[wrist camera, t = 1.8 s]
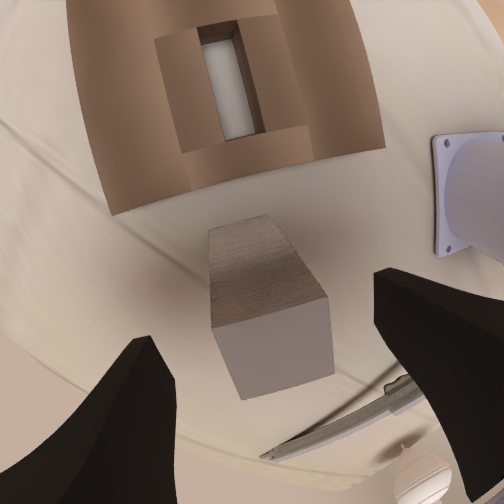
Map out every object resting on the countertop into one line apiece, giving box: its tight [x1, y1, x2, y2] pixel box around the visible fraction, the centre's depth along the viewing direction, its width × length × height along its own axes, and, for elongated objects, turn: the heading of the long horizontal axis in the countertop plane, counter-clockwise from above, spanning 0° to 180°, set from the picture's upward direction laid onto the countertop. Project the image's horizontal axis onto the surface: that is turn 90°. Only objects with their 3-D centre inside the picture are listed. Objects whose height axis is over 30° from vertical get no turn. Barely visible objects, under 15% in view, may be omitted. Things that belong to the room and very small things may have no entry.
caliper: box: [260, 374, 426, 462], centre depth 19 cm, size 20×1×6 cm, turn 136°
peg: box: [209, 214, 335, 400], centre depth 11 cm, size 3×3×8 cm
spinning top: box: [393, 444, 452, 504], centre depth 23 cm, size 8×8×12 cm
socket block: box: [66, 0, 386, 216], centre depth 9 cm, size 12×16×2 cm
